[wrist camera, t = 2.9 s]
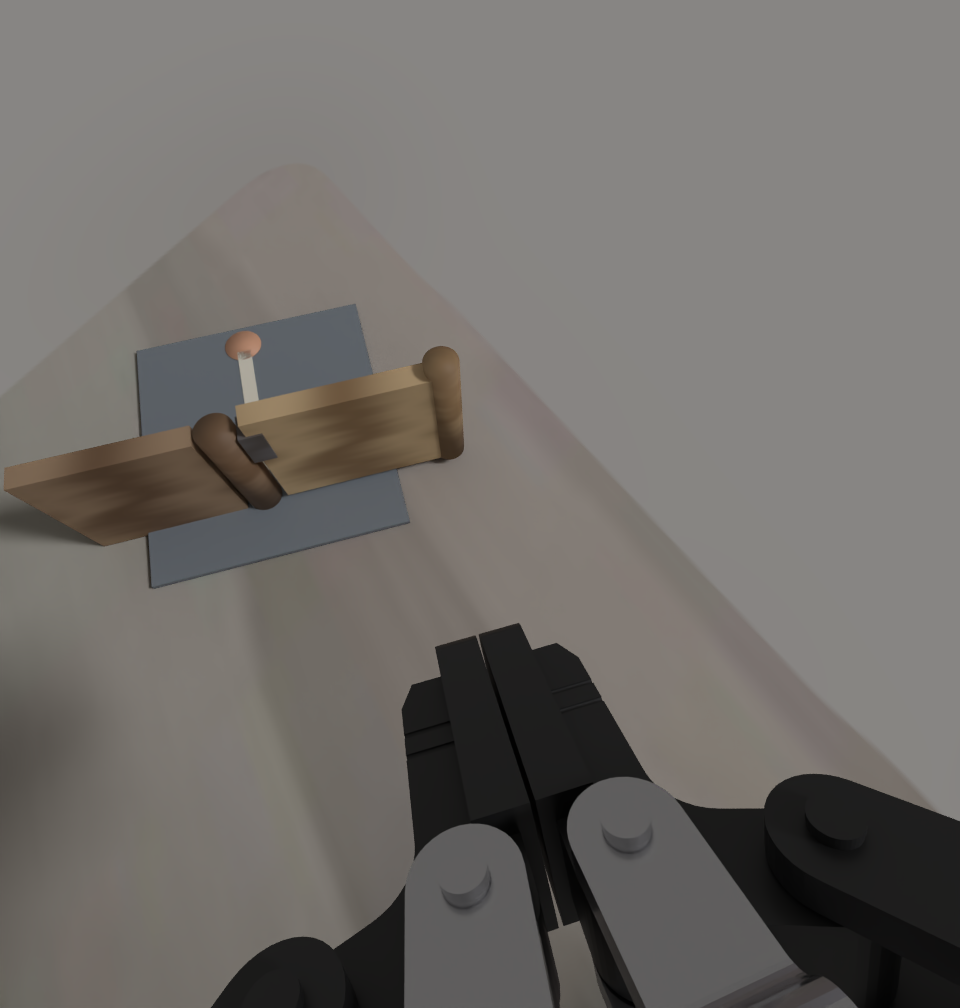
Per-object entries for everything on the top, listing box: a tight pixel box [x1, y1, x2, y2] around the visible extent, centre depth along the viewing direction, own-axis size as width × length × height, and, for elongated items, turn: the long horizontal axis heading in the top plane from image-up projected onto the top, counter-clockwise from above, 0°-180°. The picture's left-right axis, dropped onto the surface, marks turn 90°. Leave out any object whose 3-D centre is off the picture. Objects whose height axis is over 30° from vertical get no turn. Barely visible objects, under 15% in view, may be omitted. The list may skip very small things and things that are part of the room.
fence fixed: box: [4, 413, 282, 546], centre depth 32 cm, size 11×2×8 cm, turn 106°
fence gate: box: [235, 346, 464, 495], centre depth 32 cm, size 11×2×9 cm, turn 106°
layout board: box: [137, 304, 410, 589], centre depth 38 cm, size 15×17×1 cm
